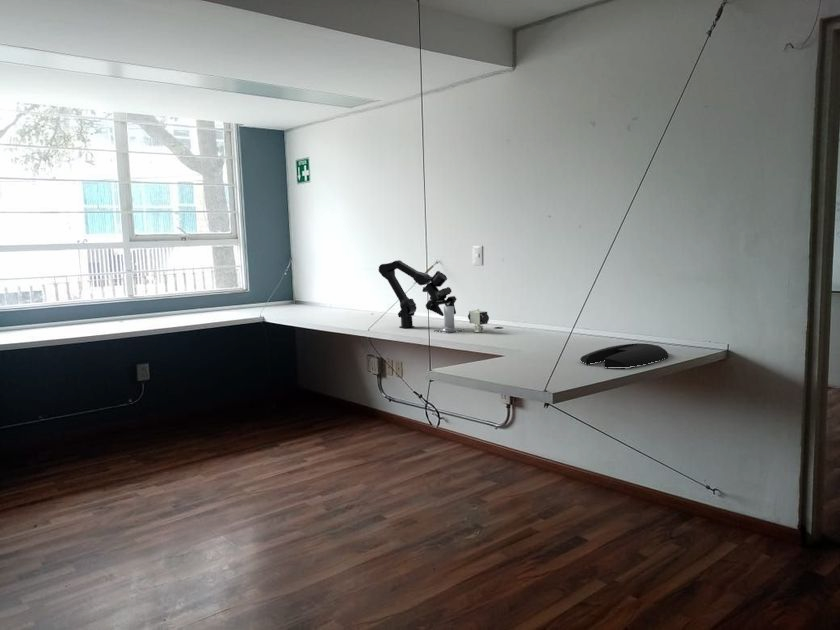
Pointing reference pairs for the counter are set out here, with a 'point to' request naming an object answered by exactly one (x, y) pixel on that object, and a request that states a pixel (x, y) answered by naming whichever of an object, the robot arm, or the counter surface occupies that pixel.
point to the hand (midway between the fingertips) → (449, 314)
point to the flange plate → (449, 330)
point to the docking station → (626, 355)
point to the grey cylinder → (449, 318)
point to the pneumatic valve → (478, 319)
